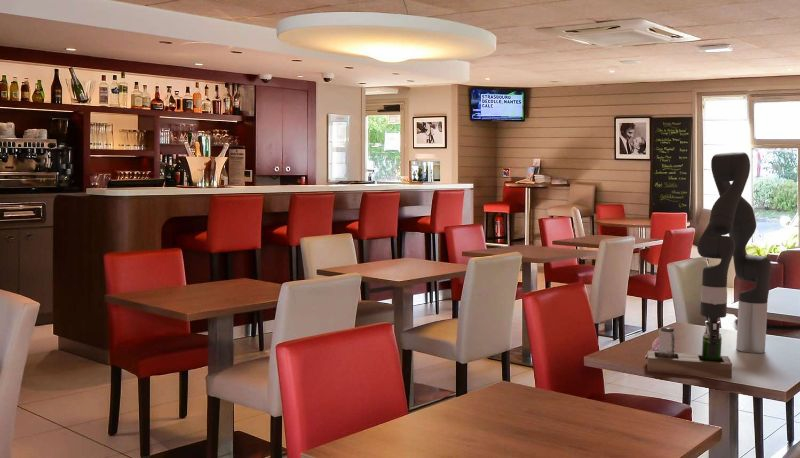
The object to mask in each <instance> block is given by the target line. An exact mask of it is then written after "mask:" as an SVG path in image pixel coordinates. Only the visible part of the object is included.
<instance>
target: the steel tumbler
mask: <svg viewBox="0 0 800 458" xmlns="http://www.w3.org/2000/svg"><path fill="white" fill-rule="evenodd" d="M658 332H659V333H658V337H659V350H658V357H660V358H673V359H674V358H675V351H676V330H675V328H674V327H671V326H662V327H660V329H659V331H658Z"/></svg>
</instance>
